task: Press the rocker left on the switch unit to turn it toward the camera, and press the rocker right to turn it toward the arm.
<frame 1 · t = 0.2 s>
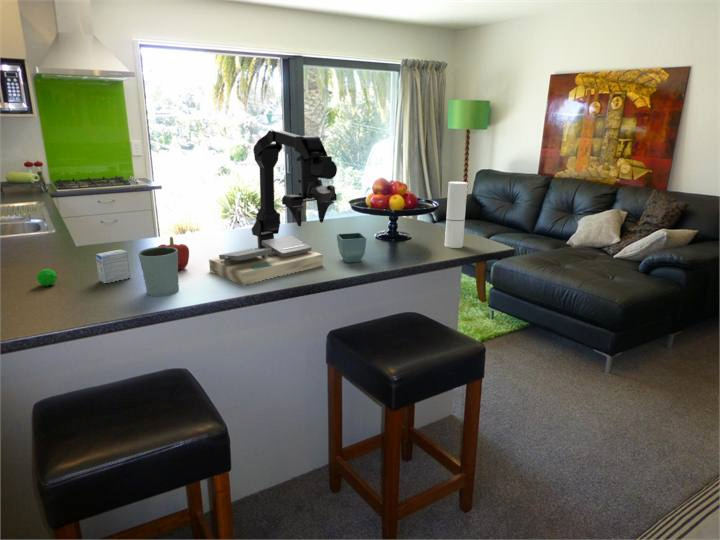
hand: (310, 224, 160), 14 cm above the countertop, fingers open, 9 cm apart
medicine box: (115, 280, 148), on the countertop
vegetable: (174, 269, 160), on the countertop
switch unit: (267, 268, 162), on the countertop
rocker right: (286, 245, 165), point 6 cm above the countertop, hinge at 10.0°
grey-green cup: (162, 292, 139), on the countertop
flower pot: (351, 261, 172), on the countertop
white tall block: (453, 246, 194), on the countertop
polyhedron: (48, 285, 143), on the countertop
rocker left: (245, 254, 154), point 6 cm above the countertop, hinge at -10.0°
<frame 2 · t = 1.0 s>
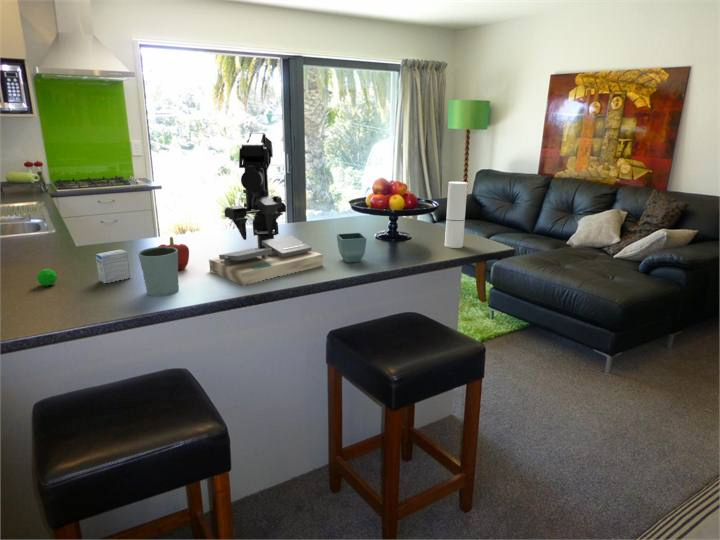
hand: (257, 237, 150), 12 cm above the countertop, fingers open, 9 cm apart
nothing on the countertop moved.
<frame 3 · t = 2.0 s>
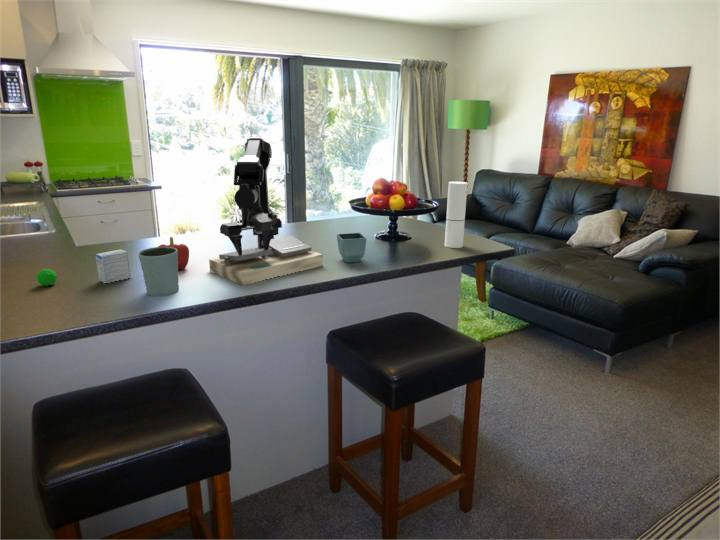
hand: (253, 253, 151), 8 cm above the countertop
rocker left: (245, 254, 154), point 6 cm above the countertop, hinge at -9.4°, touching gripper
everything else where it was.
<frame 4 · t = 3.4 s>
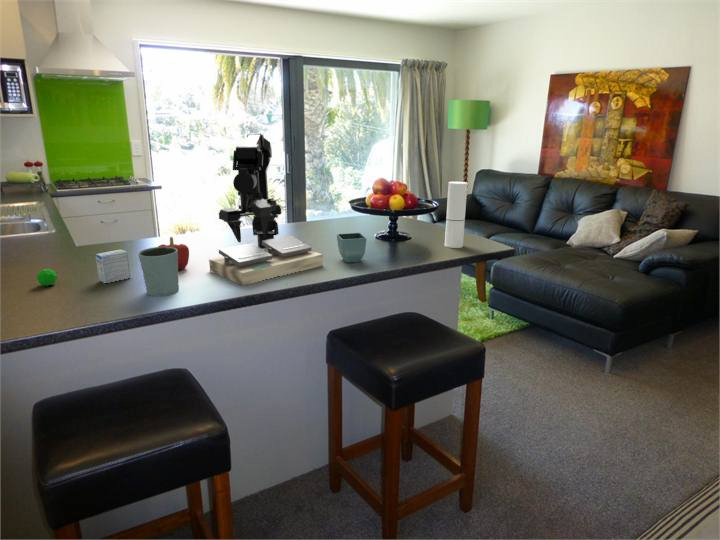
hand: (252, 239, 150), 12 cm above the countertop, fingers open, 9 cm apart
rocker left: (245, 254, 154), point 6 cm above the countertop, hinge at 8.8°
everything else where it was.
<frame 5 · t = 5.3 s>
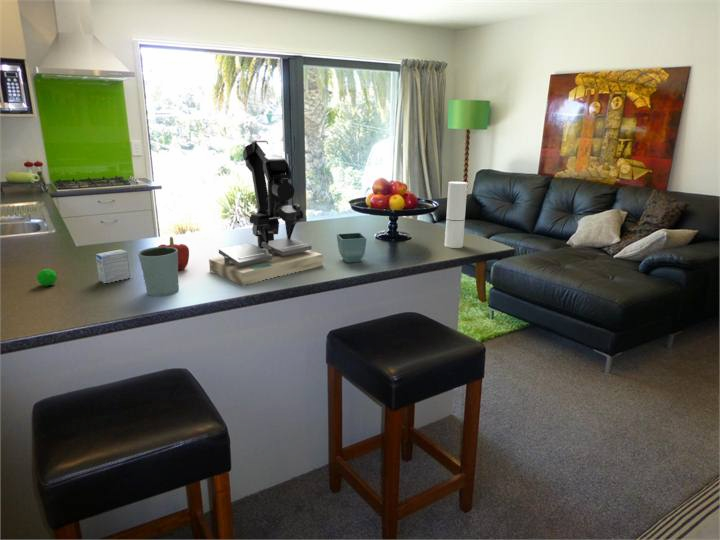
hand: (278, 240, 168), 7 cm above the countertop
rocker right: (286, 245, 165), point 6 cm above the countertop, hinge at 4.4°, touching gripper
rocker left: (245, 254, 154), point 6 cm above the countertop, hinge at 9.2°
everything else where it was.
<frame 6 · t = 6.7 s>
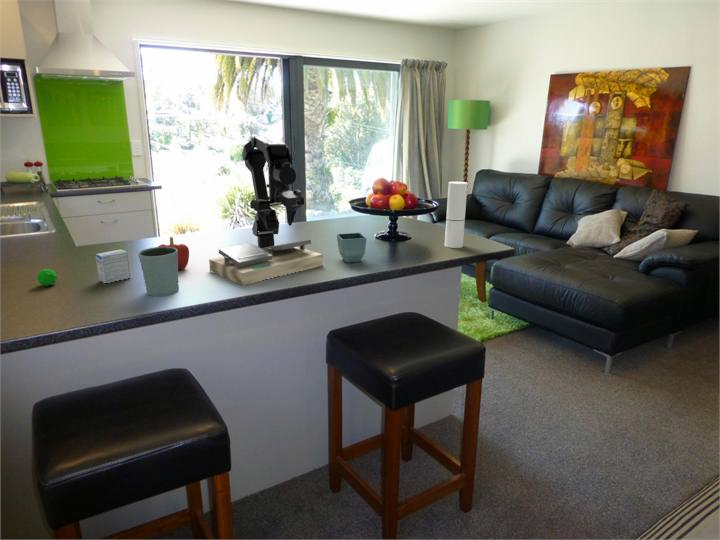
hand: (279, 227, 167), 12 cm above the countertop, fingers open, 9 cm apart
rocker right: (286, 245, 165), point 6 cm above the countertop, hinge at -15.5°
everything else where it was.
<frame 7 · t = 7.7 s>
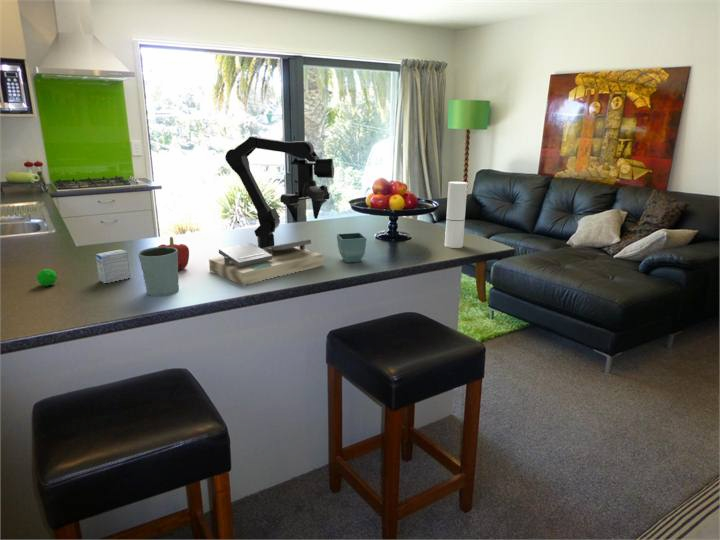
hand: (306, 220, 179), 12 cm above the countertop, fingers open, 9 cm apart
rocker right: (286, 245, 165), point 6 cm above the countertop, hinge at -15.7°, touching switch unit
everything else where it was.
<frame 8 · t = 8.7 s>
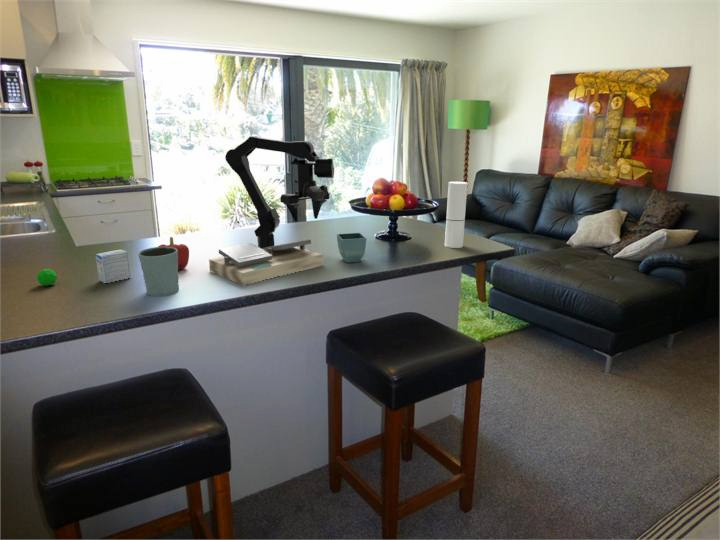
hand: (306, 220, 179), 12 cm above the countertop, fingers open, 9 cm apart
nothing on the countertop moved.
at the end: rocker left at +9° (first picture: -10°); rocker right at -16° (first picture: +10°) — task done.
